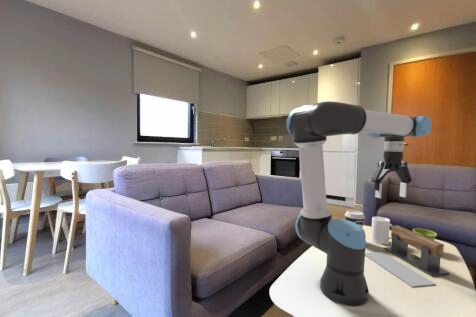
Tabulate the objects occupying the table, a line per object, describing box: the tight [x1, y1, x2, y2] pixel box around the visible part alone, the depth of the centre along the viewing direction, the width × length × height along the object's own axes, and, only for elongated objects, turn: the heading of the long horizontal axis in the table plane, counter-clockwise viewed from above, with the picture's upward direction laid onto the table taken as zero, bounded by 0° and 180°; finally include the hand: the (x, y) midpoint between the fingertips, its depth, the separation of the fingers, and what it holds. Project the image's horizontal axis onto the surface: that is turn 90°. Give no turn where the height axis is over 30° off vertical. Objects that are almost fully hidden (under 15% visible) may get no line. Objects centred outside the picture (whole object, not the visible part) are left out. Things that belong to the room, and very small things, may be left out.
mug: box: [370, 216, 394, 245], centre depth 125 cm, size 12×8×12 cm
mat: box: [365, 251, 437, 288], centre depth 99 cm, size 10×26×1 cm, turn 10°
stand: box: [383, 233, 450, 278], centre depth 105 cm, size 8×24×9 cm, turn 10°
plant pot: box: [412, 228, 438, 241], centre depth 117 cm, size 9×9×9 cm
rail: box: [390, 225, 445, 258], centre depth 105 cm, size 3×22×5 cm, turn 10°
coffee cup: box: [344, 209, 366, 228], centre depth 126 cm, size 10×10×15 cm
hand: (390, 197), depth 110 cm, fingers open, 13 cm apart
